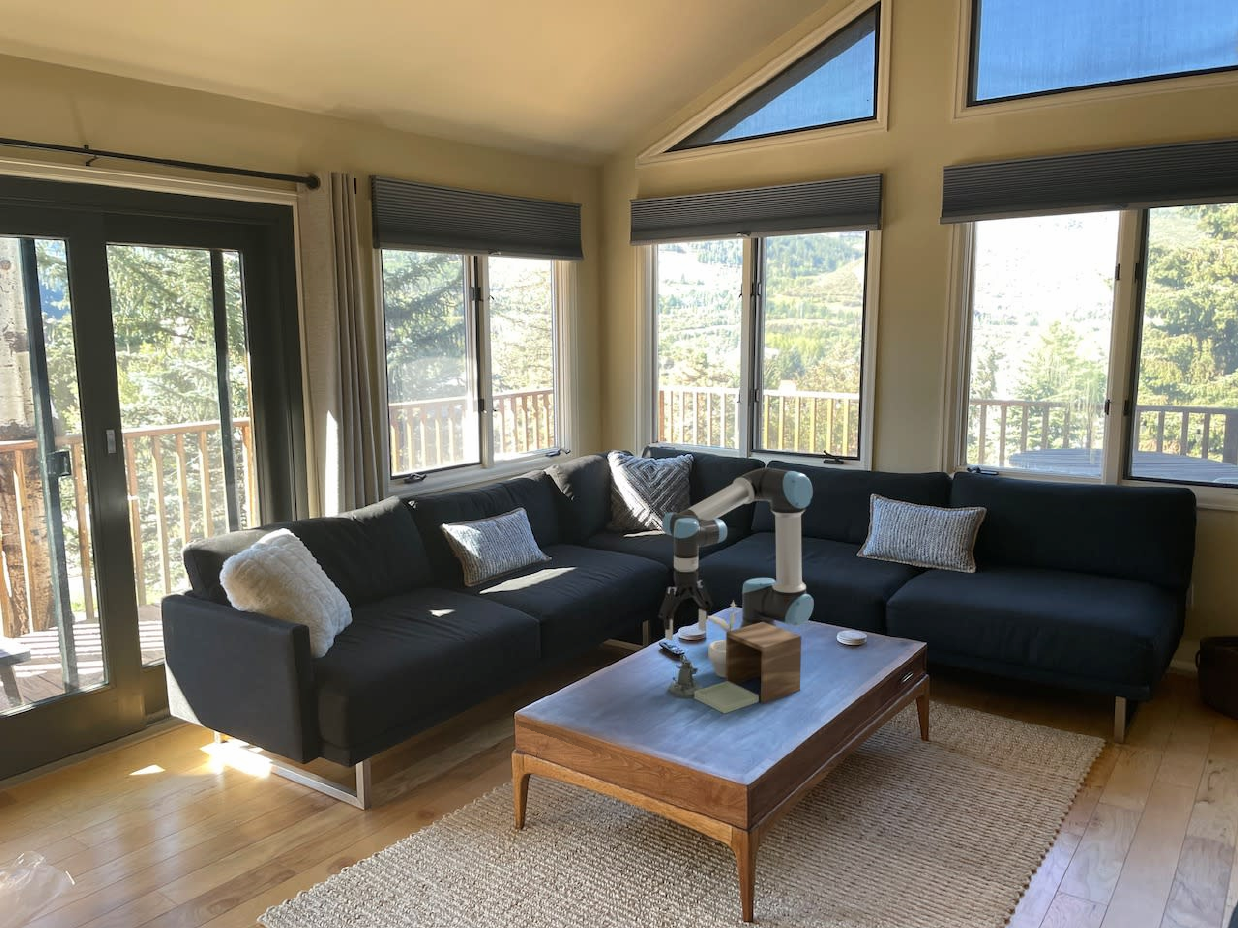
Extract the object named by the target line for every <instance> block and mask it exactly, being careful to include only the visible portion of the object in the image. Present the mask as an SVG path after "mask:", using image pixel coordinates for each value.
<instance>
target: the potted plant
mask: <svg viewBox="0 0 1238 928" xmlns="http://www.w3.org/2000/svg"><path fill="white" fill-rule="evenodd" d="M730 606H731V608H732V610H734V608H735V607H738V604H736V603H735V599H733V600H732V603H731V604H730ZM740 611H741V610H740V609H739V610H738V609H736V610H735V611H733V613H732V612H731V613H730V614H729V615H730V621H729V624H728V622H727V620H725V619H724V618H721V617H718V616H713V615H708V618H707V620H708V621H710V622H712V623H714V624H715V625H718V627H720V628H721V629H722V630H723V631H724V632H725V633H726V632H728V631H732V629H733V628H734V625H735V623H736V622H735V621H736V616H735V614H738V612H740ZM707 649H708V652H707V653H708V656H707V658H708V660H710V661H711V664H712V667H713V670H714V673H715V675H716V676H718V677H721V678H724V679H726V639H720V640H714V641H712V642H710V643H708V648H707Z"/></svg>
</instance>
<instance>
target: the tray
mask: <svg viewBox="0 0 1238 928" xmlns="http://www.w3.org/2000/svg"><path fill="white" fill-rule="evenodd" d="M759 696H760V695H759V694H757V693H755V692H752V691H750V690H748V689H746V688H744V687H741V686H739V685H737V684H733V683H731V682H729V681H726V680H725V681H724V682H721V683H718V684H714V685H711V686H707V687H705V688H702V690H698V691H695V692H694V697H693V698H694V699H695V700H697V701H699V702H701V703H702V704H705V705H707V706H709V707H711V708H713V709H714V710H717V711H718V712H721V713H723V714H727V713H731V712H733V711H737V710H739V709H742V708H745V707H748V706H751V705H753V704H756V703H759V702H760V701H759V700H760V697H759Z"/></svg>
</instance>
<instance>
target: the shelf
mask: <svg viewBox="0 0 1238 928" xmlns="http://www.w3.org/2000/svg"><path fill="white" fill-rule="evenodd" d="M725 635H726V636H725V637H726V638H725V640H726V678H725V682H726V681H729V682H731V683H733V684H735V685H737V684H740V683H744V682H746V681H750V680H753V679H755V678H759V677H761V679H760V681H761V683H760V687H761V688H760V689H761V690H760V691H761V692H760V703H761V704H765V703H768V702H772V701H774V700H777V699H779V698H782V697H787V696H788V695H791V694H794V693H797V692H800V691H801V662H802V660H801V659H802V658H801V657H802V653H801V651H802V635H799V634H796V633H794V632H792V631H788V630H786V629H784V628H780V627H778V626H776V627H775V626H773V625H770V624H767V623H765V622H760V623H757V624H753V625H750V626H746V627H743V628H740V627H739V628H737V629H736V628H735V629H733V630H732V629H731V631H728V632H726V631H725Z"/></svg>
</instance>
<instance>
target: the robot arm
mask: <svg viewBox="0 0 1238 928" xmlns="http://www.w3.org/2000/svg"><path fill="white" fill-rule="evenodd" d="M813 493H814V491H813V485H812V482H811V479H809V477H807V475H806V474H804V473H802V472H797V471H794V470H787V469H781V468H773V467H761V468H758V469H754V470H752V471H749V472H747V473H744V474H743V475H741V476H738V477H736V478H735V479H734V480H733V482H732V484H730V485H728V486H726V487H725V488H723V489H721V490H719V491H718V492H715V493H713V494H712V495H710V496H709V497H707V498H705V499H703V500H702V501H700V502H698V503H695V504H694V505H692V506H690V507H688V508H687V509H685V510H682V511H681V512H679V513H677V512H669V513H666V514H665V516H663V519H662V520H661V521H662V522H661V526H662V527H661V528H662V530H663V532H664V533H665V534H666V535H668V536H672V537H673V550H674V551H673V553H674V554H673V567H674V570H673V580H674V583H675V584H674V586H672V587H671V586H667V587H666V591H665V596H664V599H663V601H662V604H661V606H660V610H659V612H658V615H657V617H658V618H659V619H662V620H663V629H664V630H665V631H664V633H665V637H664V638H665V639H667V640H668V641H674V640H673V639H674V636H673V633H674V632H673V631H674V629H673V628H674V627H673V623H674V621H673V619H672V617H673V615H674V614H675V612H676V610H677V609H678V607H679V605H680V604H681V603H682V602H683V601H684V600H687V599H692V598H693V600H694V601H695V602H696V603H697V604H698V606H699V607H700V608H698V630H701V631H703V632H707V620H708V619H707V618H708V616H709V615H708V613H709V612H710V610H711V608H712V607H714V604H713V601H712V600H711V599H712V598H711V596H710V594H709V592H708V590H707V587H706V581H705V580H702V579H699V569H698V568H699V550H700V549H699V548H703V547H707V546H711V545H717V544H719V543H722V542H724V541H725V540H726V539H727V536H728V527H727V525H726V523H725V522H724V521H723V520H721V519H719V518H720V517H722V516H724V515H726V514H727V513H729V512H731V511H732V510H734V509H736V508H737V507H740V506H742V505H744V504H745V505H747V504H748V505H749V504H751V503H753V502H755V501H756V502H757V501H762V502H763V501H764V502H769V503H770V511H771V512H772V514H773V515H774V517H775V518H774V519H775V520H774V521H775V524H774V525H775V568H776V569H775V572H776V573H775V574H776V575H775V576H776V578H775V579H776V580H775V579H774V578H771V577H756V578H750V579H748V580H745V581H744V582H743V584H742V592H741V596H742V597H741V601H742V602H741V603H742V604H741V606H742V607H741V610H742V611H741V613H742V616H741V617H742V619H741V623H740V626H739V628H743V627H746V626H750V625H753V624H757V623H760V622H765V623H767V624H770V625H773V626H775V627H777V625H776V621H777V622H780V623H783V624H786V625H788V626H794V627H799V626H802V625H804V624H806V622H808V620H809V618H810V617H811V615H812V613H813V611H814V603H815V602H814V598H813V597H812V596H811V595H810V594H809V593H807V585H806V584H805V583H804V582H803V580H802V579H803V578H802V577H803V576H802V575H803V574H802V573H803V572H802V571H803V570H802V515H803V513H804V512H805V511H806V507H808V506H809V505H810V504H811V500H812V498H813ZM697 589H698V590H699V592H698V591H697ZM699 593H700V594H699ZM700 595H701V596H700Z"/></svg>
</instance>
